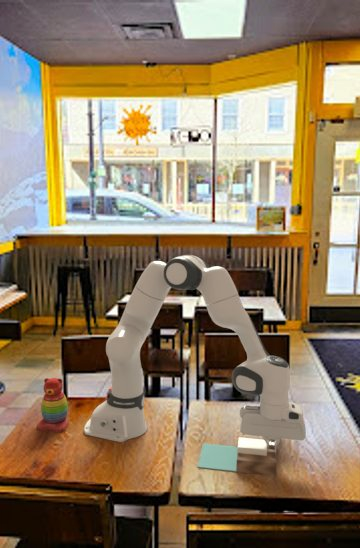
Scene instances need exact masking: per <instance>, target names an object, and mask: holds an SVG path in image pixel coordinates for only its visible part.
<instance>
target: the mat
mask: <svg viewBox="0 0 360 548" xmlns="http://www.w3.org/2000/svg"><path fill="white" fill-rule="evenodd" d="M237 451H238V446H234V445H225V444H216V443H215V444H214V443H206V442H203V443H202V446H201V450H200V455H199V458H198V459H199V460H198V463H197V468H199V469H208V470H217V471H227V472H235V473H237V472H236V466H237Z"/></svg>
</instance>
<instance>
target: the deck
mask: <svg viewBox="0 0 360 548" xmlns="http://www.w3.org/2000/svg"><path fill="white" fill-rule="evenodd" d="M240 437H241V438H249V437H248V436H247V437H246V436H240ZM251 438H252V439H259V438H257V437H251ZM237 439H238V440H239V437H238V438H237ZM261 439H262V440H264V438H261ZM238 440H237V441H238ZM268 440H269V442H275V440H270V439H268ZM276 451H277V449H276V450H272V449H267V456H263V455H254V454H244V453H238V451H237V466H236V472H235V473H243V474H253V475H261V476H271V477H277V452H276Z"/></svg>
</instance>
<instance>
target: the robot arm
mask: <svg viewBox="0 0 360 548" xmlns="http://www.w3.org/2000/svg"><path fill="white" fill-rule="evenodd" d="M229 273H230V272H228V270H227V269H226V268H224V267H223V266H214V265H213V266H211V267H209V266H208V264H207V262H206V261H205V259H204V258H202V257H201V256H199V255H193V254H183V255H180V256H179V255H178V256H175V257H173V258H171V259H170V260H168V261H167V262H165V261H161V260H153V261H151V262H150V263H148V265H147V266H146V267H145V269H144V271H143V272H142V273H141V275H140V277H139V278H138V280H137V282H136V284H135V286H134V287H133V290H132V292H131V295H130V297H129V299H128V301H127V302H126V305H125V308H124V310H123V313H122V316H121V317H120V321H119V322H118V324H117V326H116V328H115V329H114V330H113V331H112V332H111V334H110V335H109V336H108V339H107V341H106V344H105V352H106V356H107V357H108V358H107V359H108V362H109V368H110V374H111V375H110V378H111V386H110V387H109V388H108V390H107V392H106V395H105V397H104V398H105V399H104V401H103V402H102V403H100V404H99V405H98V406H97V407H95V409H94V410H93V411H92V414H91V416H90V418H89V420H87V421H86V423H85V425H84V428H83V433H84V434H85V435H87V436H91V437H95V438H99V439H100V438H101V439H103V440H109V441H114V442H118V443H123V442H126V441H128V440H131V439H135V438H138V437H140V436H142V435H144V434H145V433H146V432H147V430H148V425H147V422H146V417H145V410H144V407H145V391H144V386H143V385H144V381H143V380H144V379H143V378H144V375H143V374H144V370H143V368H142V363H141V348H142V346H143V344H144V343H145V341H146V339H147V336H148V335H149V332H150V330H151V328H152V327H153V324H154V322H155V320H156V318H157V316H158V314H159V312H160V310H161V308H162V306H163V304H164V301H165V300H166V298H167V296H168V294H169V292H170V290H171V289H174V290H179V291H184V290H185V291H188V290H191V291H193V290H198V291H199V292H200V293H201V295H202V297H203V301H204V303H205V306H206V309H207V312H208V315H209V317H210V318H211V321H212V322H213V323H214V324H215V325H217V326H219V327H221V328H224V329H225V328H226V329H230V330H232V331H234V333H236V335H238V338H239V340H240V343H241V344H242V346H243V348H244V350H245V352H246V356H247V359H246V360H245V361H243V362H242V363H240V364H239V365H237V366H236V367H235V368H234V369H233V370H232V373H231V382H232V385H233V386H234V388H235V389H236V390H237V391H238V392H240V393H241V394H243V395H249V396H259V406H257V405H252V406H251V405H247V404H246V405H244V406H242V407H241V408H240V410H239V417H240V418H241V421H240V429H239V431H240V433H241V434H242V435H244V436H245V435H246V436H257V437H262V438H263V437H264V438H263V439H264V440H265V442H266V444H267V449H272V450H276V451H277V446H278V445H279V443H280V442H281V439H282V440H283V439H284V440H285V439H286V440H292V441H293V440H295V441H304V440H305V439H306V436H307V435H306V434H307V433H306V432H307V431H306V430H307V429H306V423H305V418H304V413H303V409H302V406H301V405H300V404H297V403H295V402H293V401H290V399H289V391H290V388H291V373H290V372H291V371H290V365H289V363H288V361H286V360H285V359H284V358H282V357H280V356H276V355H270V353H269V352H268V351H267V350H266V348H265V346H264V344H263V342H262V339H261V337H260V335H259V333H258V330H257V328H256V327H255V324H254V322H253V321H252V318H251V317H250V315H249V313H248V312H247V310H245V307H244V305H243V302H242V300H241V297H240V295H239V293H238V289H237V287H236V285H235V283H234V280H233V279H232V277H231V275H230V274H229ZM269 437H273V438H276V440H275V442H269V440H270V439H269ZM268 439H269V440H268Z"/></svg>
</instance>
